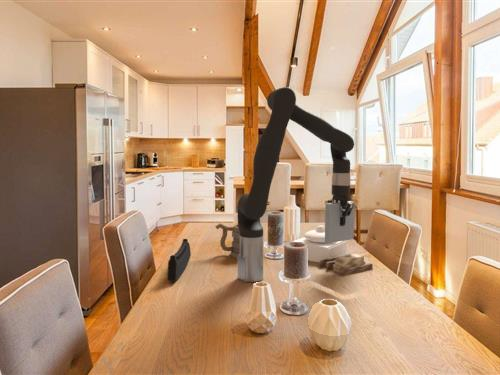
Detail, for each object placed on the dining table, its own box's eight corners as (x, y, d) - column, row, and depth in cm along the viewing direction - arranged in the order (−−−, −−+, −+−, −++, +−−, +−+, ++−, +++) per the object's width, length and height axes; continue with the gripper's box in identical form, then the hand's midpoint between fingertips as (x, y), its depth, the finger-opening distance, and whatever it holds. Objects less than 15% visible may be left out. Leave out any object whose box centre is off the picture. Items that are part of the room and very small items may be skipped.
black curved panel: (173, 263, 156) (188, 224, 183) (165, 262, 156) (181, 224, 184) (177, 300, 163) (191, 257, 190) (169, 300, 163) (184, 257, 190)
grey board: (328, 243, 172) (329, 204, 170) (324, 241, 174) (325, 203, 172) (353, 239, 179) (354, 201, 178) (349, 237, 181) (350, 201, 180)
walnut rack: (340, 279, 165) (340, 268, 164) (317, 269, 177) (317, 259, 176) (373, 271, 174) (373, 261, 173) (348, 263, 186) (349, 253, 185)
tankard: (259, 251, 205) (259, 221, 204) (256, 259, 193) (256, 226, 191) (218, 250, 208) (218, 220, 206) (213, 257, 195) (213, 225, 193)
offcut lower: (339, 273, 168) (340, 266, 167) (333, 270, 171) (333, 264, 171) (365, 267, 175) (365, 261, 175) (358, 265, 178) (358, 259, 178)
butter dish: (328, 268, 180) (328, 231, 178) (292, 260, 191) (292, 226, 189) (346, 258, 194) (347, 224, 192) (311, 252, 205) (312, 220, 203)
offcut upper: (341, 266, 168) (342, 260, 168) (335, 264, 171) (335, 258, 171) (363, 262, 174) (363, 256, 174) (356, 259, 178) (356, 253, 177)
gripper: (322, 182, 178) (321, 223, 180) (346, 185, 166) (345, 229, 168) (336, 181, 182) (335, 221, 184) (360, 184, 170) (358, 227, 172)
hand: (339, 224), depth 176 cm, fingers closed on grey board, 2 cm apart
